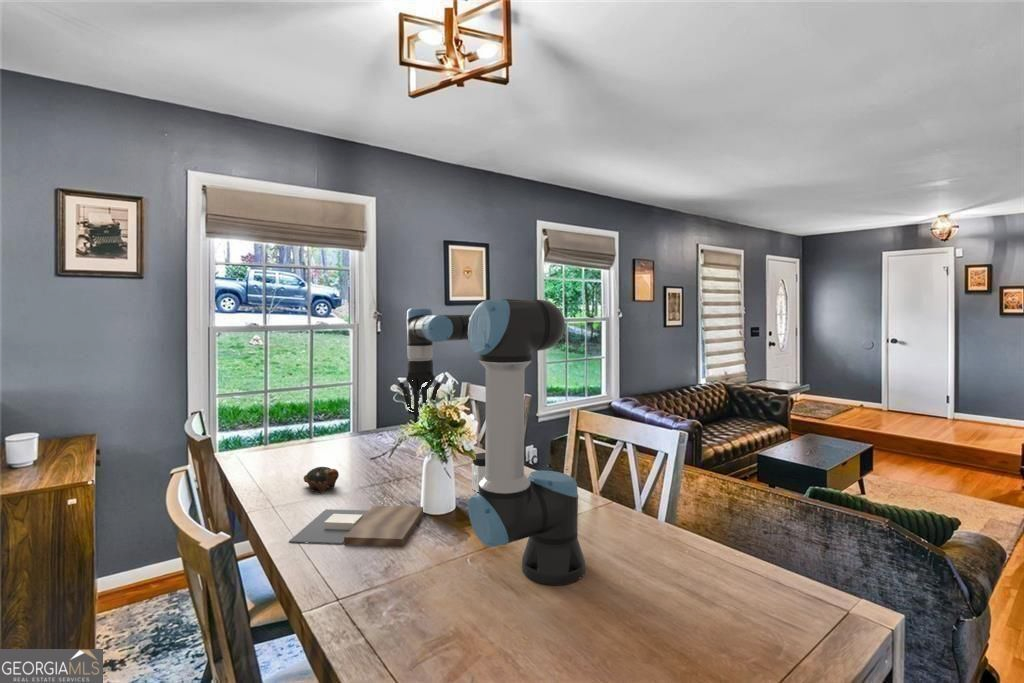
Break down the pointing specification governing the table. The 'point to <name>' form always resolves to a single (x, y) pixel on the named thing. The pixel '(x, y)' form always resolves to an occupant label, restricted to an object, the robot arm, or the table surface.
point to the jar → (478, 470)
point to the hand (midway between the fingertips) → (421, 436)
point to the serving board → (385, 526)
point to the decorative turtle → (321, 478)
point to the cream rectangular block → (342, 521)
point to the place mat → (320, 535)
